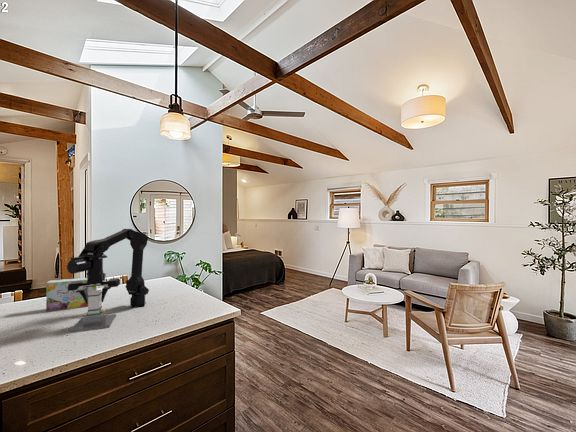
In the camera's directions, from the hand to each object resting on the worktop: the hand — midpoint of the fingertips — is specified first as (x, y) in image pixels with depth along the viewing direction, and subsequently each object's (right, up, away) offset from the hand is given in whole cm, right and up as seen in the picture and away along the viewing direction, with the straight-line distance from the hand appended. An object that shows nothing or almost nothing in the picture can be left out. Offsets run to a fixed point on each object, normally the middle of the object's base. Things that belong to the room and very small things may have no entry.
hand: (95, 302), depth 120 cm
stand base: (0, -10, 0) cm, 10 cm away
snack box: (-27, -10, +21) cm, 36 cm away
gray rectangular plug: (0, -5, 0) cm, 5 cm away
